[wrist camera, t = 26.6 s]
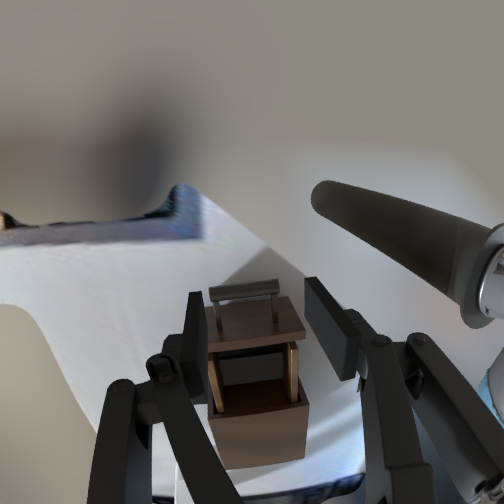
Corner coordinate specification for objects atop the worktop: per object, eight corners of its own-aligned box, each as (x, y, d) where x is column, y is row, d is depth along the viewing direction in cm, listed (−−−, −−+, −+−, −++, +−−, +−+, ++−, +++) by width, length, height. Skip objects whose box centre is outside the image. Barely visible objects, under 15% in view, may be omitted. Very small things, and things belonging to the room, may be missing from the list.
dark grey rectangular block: (217, 333, 35) (218, 360, 30) (274, 326, 36) (282, 351, 31) (221, 359, 37) (223, 386, 32) (275, 352, 37) (283, 377, 32)
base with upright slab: (173, 470, 49) (172, 513, 37) (178, 453, 46) (176, 501, 35) (213, 475, 50) (216, 517, 39) (221, 458, 48) (225, 505, 37)
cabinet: (206, 370, 39) (207, 419, 30) (292, 358, 41) (309, 404, 32) (221, 427, 44) (224, 470, 35) (291, 417, 45) (304, 458, 36)
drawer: (190, 270, 33) (185, 302, 26) (286, 259, 34) (306, 287, 27) (213, 384, 39) (215, 424, 32) (289, 374, 40) (302, 411, 33)
